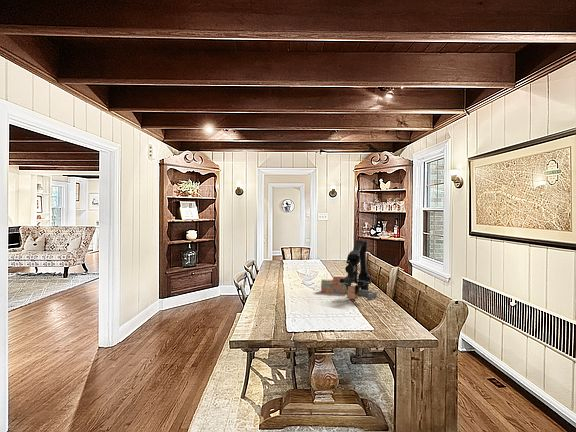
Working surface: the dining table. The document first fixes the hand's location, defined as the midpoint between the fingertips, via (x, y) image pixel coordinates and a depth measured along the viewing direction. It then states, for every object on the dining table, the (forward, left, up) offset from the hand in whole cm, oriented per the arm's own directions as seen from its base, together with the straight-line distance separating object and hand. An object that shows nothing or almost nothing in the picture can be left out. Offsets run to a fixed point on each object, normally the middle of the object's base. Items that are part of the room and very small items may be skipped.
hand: (352, 294), depth 312 cm
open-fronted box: (-12, 0, -4) cm, 12 cm away
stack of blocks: (-14, -24, -4) cm, 28 cm away
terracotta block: (0, 0, -2) cm, 2 cm away
